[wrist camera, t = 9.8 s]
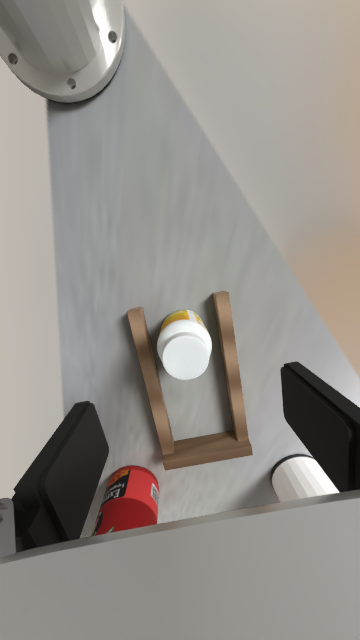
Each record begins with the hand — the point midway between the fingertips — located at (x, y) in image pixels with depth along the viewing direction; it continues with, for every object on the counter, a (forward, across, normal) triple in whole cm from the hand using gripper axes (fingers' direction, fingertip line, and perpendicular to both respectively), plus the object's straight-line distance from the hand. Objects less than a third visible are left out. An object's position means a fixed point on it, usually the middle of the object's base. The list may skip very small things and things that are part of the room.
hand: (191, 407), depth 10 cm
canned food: (+16, +12, +24) cm, 31 cm away
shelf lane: (+16, 0, +8) cm, 18 cm away
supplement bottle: (+17, 0, +1) cm, 17 cm away
